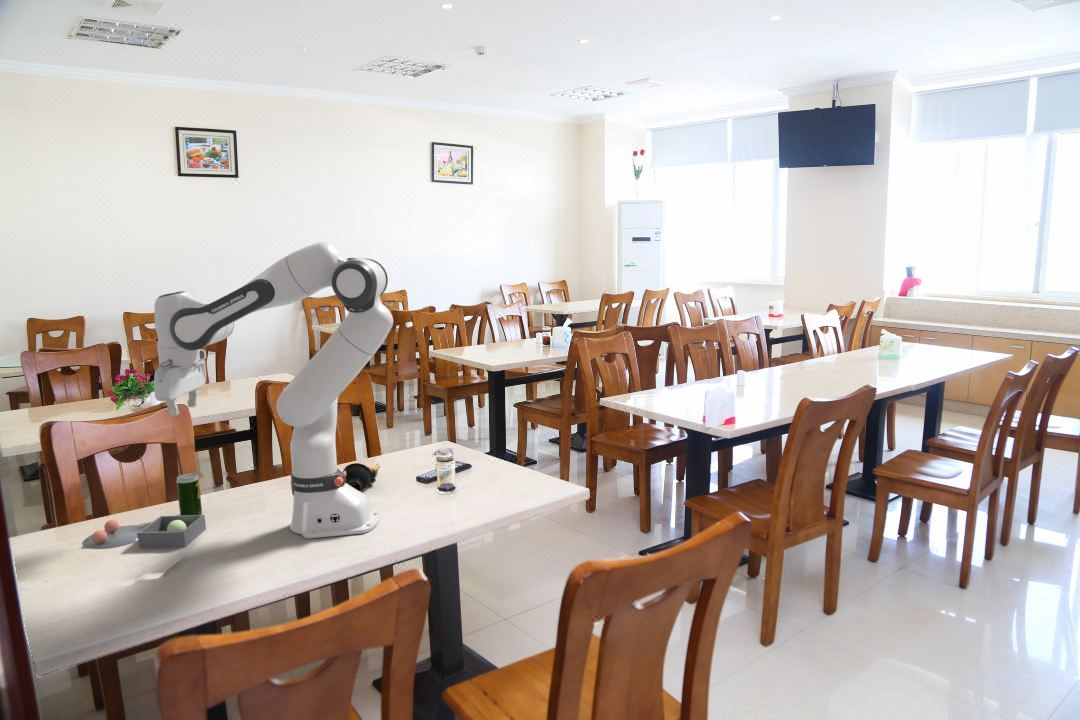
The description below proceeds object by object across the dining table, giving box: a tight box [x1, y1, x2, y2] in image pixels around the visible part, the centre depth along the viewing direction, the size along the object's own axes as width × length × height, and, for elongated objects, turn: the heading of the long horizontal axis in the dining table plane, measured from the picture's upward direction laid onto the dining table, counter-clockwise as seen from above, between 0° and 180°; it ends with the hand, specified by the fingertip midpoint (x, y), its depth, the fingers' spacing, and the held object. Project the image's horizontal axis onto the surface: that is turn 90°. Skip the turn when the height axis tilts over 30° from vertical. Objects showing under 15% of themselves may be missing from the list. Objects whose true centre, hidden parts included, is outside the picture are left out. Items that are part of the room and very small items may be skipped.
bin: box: [137, 514, 207, 549], centre depth 186 cm, size 11×11×5 cm
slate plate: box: [82, 524, 147, 550], centre depth 189 cm, size 15×15×1 cm
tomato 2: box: [103, 519, 120, 533], centre depth 191 cm, size 3×3×3 cm
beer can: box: [176, 473, 203, 516], centre depth 201 cm, size 5×5×12 cm
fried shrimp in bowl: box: [342, 462, 381, 492], centre depth 226 cm, size 9×11×18 cm
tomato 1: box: [91, 529, 107, 544], centre depth 184 cm, size 3×3×3 cm
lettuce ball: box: [166, 520, 186, 532], centre depth 188 cm, size 4×4×4 cm
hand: (183, 410), depth 191 cm, fingers open, 8 cm apart
